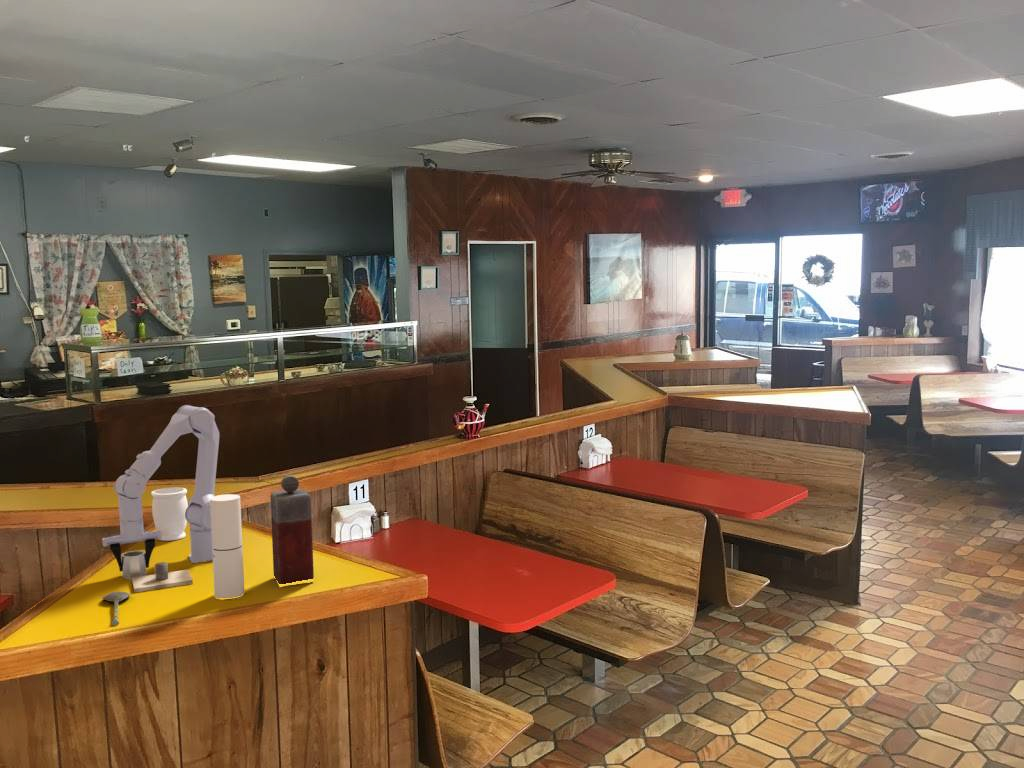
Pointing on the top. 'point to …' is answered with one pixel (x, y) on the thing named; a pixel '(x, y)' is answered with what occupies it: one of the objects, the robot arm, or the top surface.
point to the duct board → (161, 584)
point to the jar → (170, 512)
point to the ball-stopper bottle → (291, 533)
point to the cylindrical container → (227, 546)
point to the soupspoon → (116, 603)
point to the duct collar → (133, 564)
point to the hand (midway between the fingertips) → (134, 568)
